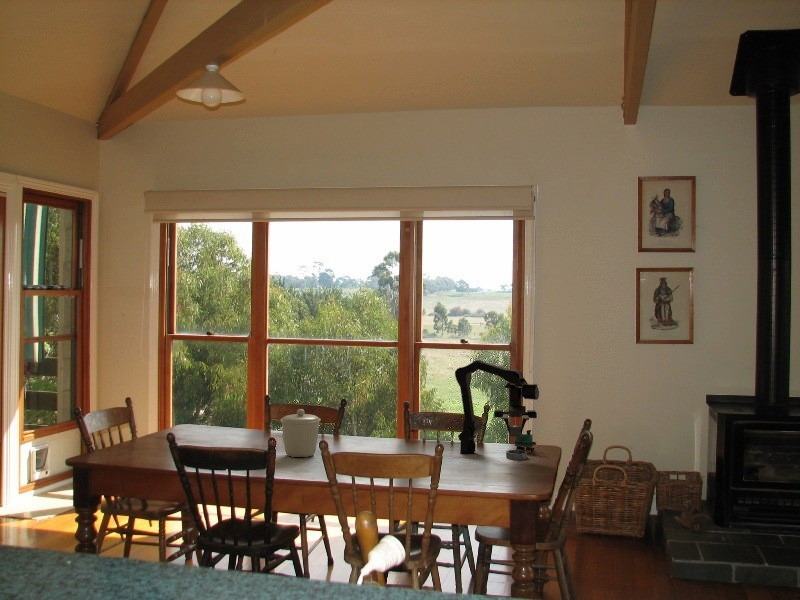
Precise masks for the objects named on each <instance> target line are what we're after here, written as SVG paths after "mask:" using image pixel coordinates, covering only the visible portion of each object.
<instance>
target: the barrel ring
mask: <svg viewBox="0 0 800 600" xmlns="http://www.w3.org/2000/svg"><path fill="white" fill-rule="evenodd" d="M505 457H506V459H509V460H514V461H515V460H518V461H523V460H526V459H528V453H527V452H526V451H525V450H516V449H509V450H508V449H507V450H505Z"/></svg>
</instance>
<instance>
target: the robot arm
mask: <svg viewBox="0 0 800 600" xmlns="http://www.w3.org/2000/svg"><path fill="white" fill-rule="evenodd" d="M478 371H482V372H484V373H488V374H491V375H493V376H497V377H500V378H502V379H503V380H504V381H505V382H507V383H506V385H504V387H503V388H504V389H508V411H504V410H503V409H494V411H493V417H494V418H496V419H497V418H498V419H499V418H501V420H502V421H504V423H505V425H506V428H507V431H508V432H507V433H508V434H510V423H509V417H511V418H521V423H520V424H521V425H520V426H521V434H523V431H524V428H525V425H526V422H527V421H529V420H530V419H538V418H537V417H538V416H537V415H538V414H537V413H538V412H537V411H536V410H534V409H533V410H532V409H527V408H526V405H523V402H522V400H523V399H524V400H531V401H532V400H534V401H537V400H538V399H539V396H540V391H539V387H538V383H534V384H532V383H531V384H530V383H528V382H527V380H526V379H525V377H524V374H523V371H521V370H520V369H516V368H504V367H501V366H499V365H495V364H492V363H489V362H485V361H483V360H481V359H477V360H474V361H473V362H471V363H469V364H467V365H465V366H462V367H458V368H456V370H454V376H455V379H456V382H457V384H458V386H459V388H460V395H461V402H462V407H463V408H462V409H463V415H464V418H463V423H462V431H461V432H460V433H459V434H458V437H457V438H458V440H459V441H460V450H459V451H460V452H459V454H465V455H466V454H470V455H474V454H475V452H476V442H475V439H476V437H477V435H478V434H479V433H480V431H481V428H482V426H481V422H480V421H481V420H480V419H479V418H478V419H477V417H476V416H475V411H474V404H473V398H472V397H473V396H472V389H471V383H472V374H474V373H475V372H478ZM526 409H527V410H526Z"/></svg>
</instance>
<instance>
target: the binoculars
mask: <svg viewBox="0 0 800 600" xmlns="http://www.w3.org/2000/svg"><path fill="white" fill-rule="evenodd" d="M531 432H532V430H531V429H528V430H526V432H525V433H521V436H519V437H515V438H514V439H515V440H514V446H515V447H516V448H515V450H523V451H526V452H527V454H528V453H532V451H535V447H533V446H536V445H537V442H536V441H533V434H531Z"/></svg>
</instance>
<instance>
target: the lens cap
mask: <svg viewBox="0 0 800 600" xmlns="http://www.w3.org/2000/svg"><path fill="white" fill-rule="evenodd" d="M509 428H510V433H509V437H519V436H521V434H522V433H521V425H509Z"/></svg>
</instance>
